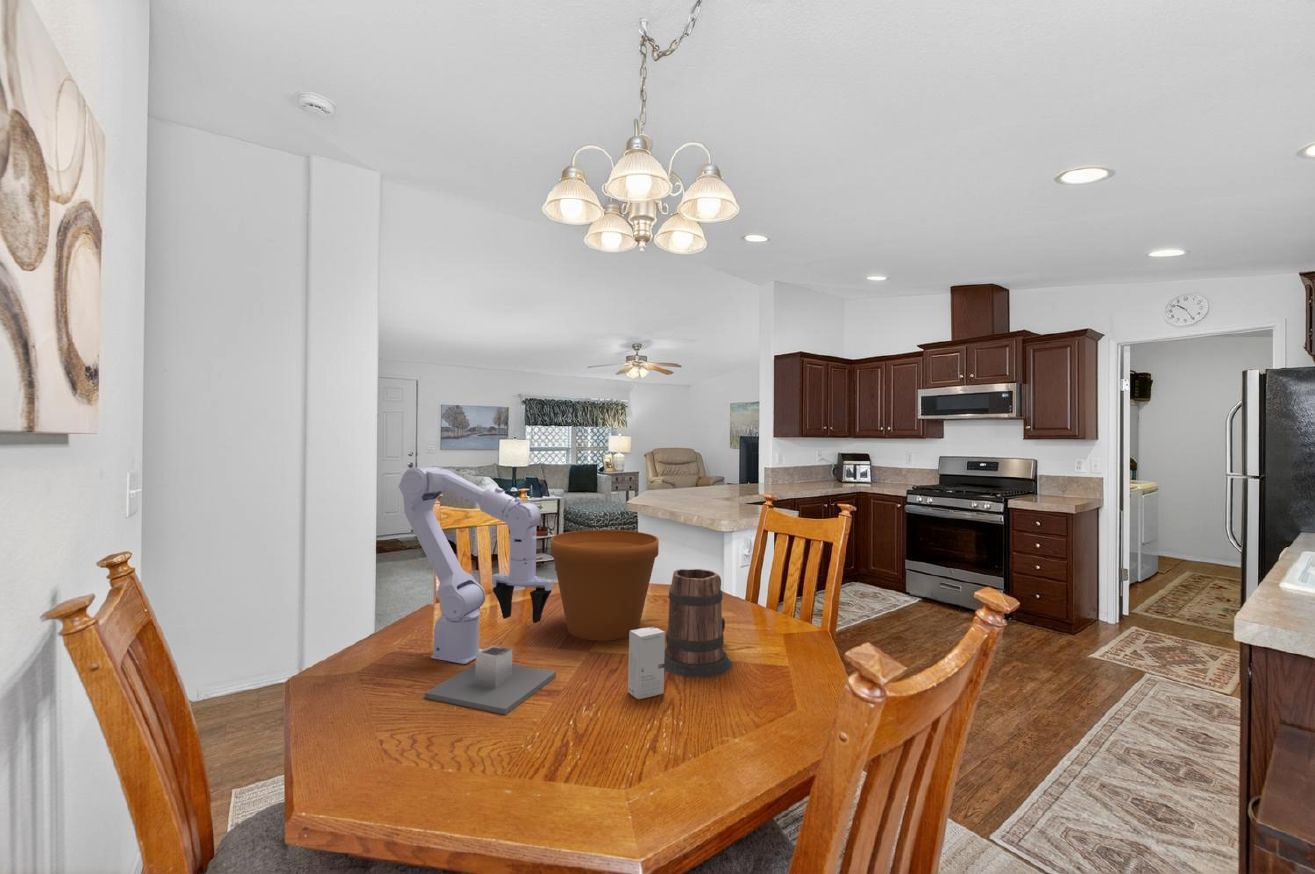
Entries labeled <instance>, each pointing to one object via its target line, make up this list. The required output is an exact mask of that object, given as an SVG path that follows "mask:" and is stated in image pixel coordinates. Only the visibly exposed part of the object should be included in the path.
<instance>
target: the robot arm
mask: <svg viewBox="0 0 1315 874" xmlns="http://www.w3.org/2000/svg"><path fill="white" fill-rule="evenodd" d="M400 479H401V480H400V482H399V484H398V488H399V490H400V492H401V494H402V497H403V498H402V499H403V509H404V511H403V512H404V514H405V517H406V519H407V521H408V522H409V525H410V527H411V529H412V530H413V533H414V535H415V536H416V538H417V540H418V542H419V544H420V546H421V548H422V550H423V552H424V554H425V556H426V558H427V560H428V562H429V564H430V566H431V568H432V570H433V571H434V574H435V576H436V578H437V580H438V582H439V585H438V588H437V590H436V595H437V597H438V601H439V608H440V612H441V614H442V615H440V616H439V617H438V618H437V620H436V621H435V624H434V628H433V654H431V656H430V659H432V660H433V659H434V660H441V661H446V662H451V663H456V664H462V665H466V664H469V663H470V662H472V661H475V660H476V653H478V652H480V651H482V650H484V649H485V648H484V649H483V648H480V613H481V607H482V606H483V605H484V604H485V601H486V591H485V589H484V587H483V586H482V584H479V583H478V582H477V581H476V579H475V578H474V576H473V575H472V574H471V573H469V572H467V571H465V570H464V569H463V567H462V565H461V564H460V562H459V559H458V558H457V556H456V554H455V553H454V550H453V548H452V547H451V544H450V542H449V541H448V538H447V537H446V535H445V533H444V530H443V528H442V526H441V525H440V523H439V521H438V519H437V517H436V516H435V513H434V512H433V509H434V507H435V504H436V502H437V501H438V499H439V498H440V496H441V495H442V494H443V493H444V492H450V493H452V494H454V495H457V496H459V497H461V498H464V499H466V500H469V501H471V502H473V503H476V504H478V508H479V510H480V511H481V512H483V513H485V514H487V515H488V516H490V517H493V518H495V519H497V520H499V521H502V522H504V523H505V524H506V526H507V527H508V529H509V562H508V563H509V564H508V574H507V573H495V574H492V575H491V584H492V585H495V586H494V587H492V592H493V593H494V596H495V597H496V598H497V599H496V600H497V602H498V604H499V607H500V612H501V616H502V619H508V618H511V615H512V607H513V606H512V602H513V594H514V590H515V587H521V588H528V589H529V588H530V589H534V590H531V591H530V592H529V595H530V598H531V606H532V617H531V618H532V623H533V624H537V623H539V622H540V621H541V620H542V615H543V611H544V607H545V605H546V603H547V600H548V599H549V596H550V595H551V594H552V590H553V589H554V586H555V585H554V584H555V583H554V582H555V580H554V579H548V578H544V577H542V576H541V577H540V576H537V575H536V574H537V572H536V571H537V530H538V529H537V528H538V527H537V526H538V524H539V523H540V521H541V518H542V512H541V510H540V508H539V507H538V505H537V504H535V502H533V501H522V498H520V497H518V496H517V497H514V496H512V495H510V494H507V493H505V492H504V489H503V488H501V487H495V488H494V487H492V488H488V489H483V488H482V487H480V486H479V485H476V484H475V483H473V482H471V481H469V480H467V479H465V478H464V477H461V476H459V475H458V474H456V473H454V472H453V471H452V470H451V469H450V470H449V469H444V468H443V467H441V466H439V465H435V466H429V467H428V466H427V467H411V468H408V469H407V470H406V471H405V472H404V473H403V474H402V477H401V478H400Z"/></svg>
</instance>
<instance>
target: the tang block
mask: <svg viewBox="0 0 1315 874" xmlns="http://www.w3.org/2000/svg"><path fill="white" fill-rule="evenodd" d="M475 667H476V663H474V664H471V666H469V667H467V668H465V669H464V670H462V671H460V672H458V673H456V674H455V675H453V676H451V677H450V678H448V679H446V680H445V681H443V682H441V683H439V684H437V685H435V686H434V687H432V688H430V689H428V690H426V691H425V692H424V696H423V697H424V699H428V700H433V701H439V702H441V703H442V702H443V703H448V704H452V705H457V706H463V707H467V708H471V709H475V710H482V711H487V712H491V713H496V714H501V715H505V716H506V715H507V714H508V713H510V712H511V711H513V710H514V709H515V708H517V707H518V706H519V705H521V704H522V703H523V702H524V701H526V700H527V699H528V698H530V697H531V696H532V695H534V694H535V693H536V692H538V691H539V690H540V689H542V688H543V687H544V686H546V685H547V684H549V682H551V681H553V680H554V679H555V678H556V677H557V672H556V671H553V670H547V669H541V668H535V667H529V666H523V665H518V664H513V663H512V679H511V680H510V681H508V682H506V683H505V684H503V685H501V686H499V687H498V688H496V689H494V688H490V687H486V686H482V685H478V684H475Z"/></svg>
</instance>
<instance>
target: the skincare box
mask: <svg viewBox="0 0 1315 874" xmlns="http://www.w3.org/2000/svg"><path fill="white" fill-rule="evenodd" d="M628 639H629V640H628V667H627V668H628V671H627V672H628V673H627V674H628V675H627V676H628V677H627V678H628V679H627V693H629V694H630V695H631V696H632V697H634V698H635V699H636V700H642V699H647V698H651V697H655V696H660V695H662V694H664V693H665V692H664V691H665V690H664V689H665V688H664V687H665V671H664V653H665V649H666V647H665V646H666V645H665V644H666V631H664V630H662V629H661V628H658V627H656V626H651V627H642V628H639V629H637V630H631V631H629V638H628Z"/></svg>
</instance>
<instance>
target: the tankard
mask: <svg viewBox="0 0 1315 874" xmlns="http://www.w3.org/2000/svg"><path fill="white" fill-rule="evenodd" d="M671 579H672V580H671V584H670V588H669V590H668V599H669V603H668V605H669V607H668V618H667V619H668V623H667V630H666V631H665V643H666V647H665V653H664V672H667V673H668V674H671V675H674V676H679V677H685V678H693V679H694V678H695V679H696V678H699V679H703V678H712V677H717V676H720V675H724V674H726V673H727V672H730V670H731V669H732V668H733V663H732V661H731V659H729V657H728V655H727V653H726V652H725V651H724V647H723V646H724V642H725V641H724V640H725V639H724V637H725V636H724V635H725V634H724V631H725V627H726V621H725V618H724V617H723V616H722V614H723V613H722V612H723V609H722V607H723V606H722V605H723V604H722V603H723V602H722V601H723V590H722V578H721V576H720V575H719V574H718V573H717V572H715V571H713V570H709V569H702V568H700V569H699V568H694V569H683V568H682V569H681V568H680V569H676V570H674V571H673V574H672V578H671Z"/></svg>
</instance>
